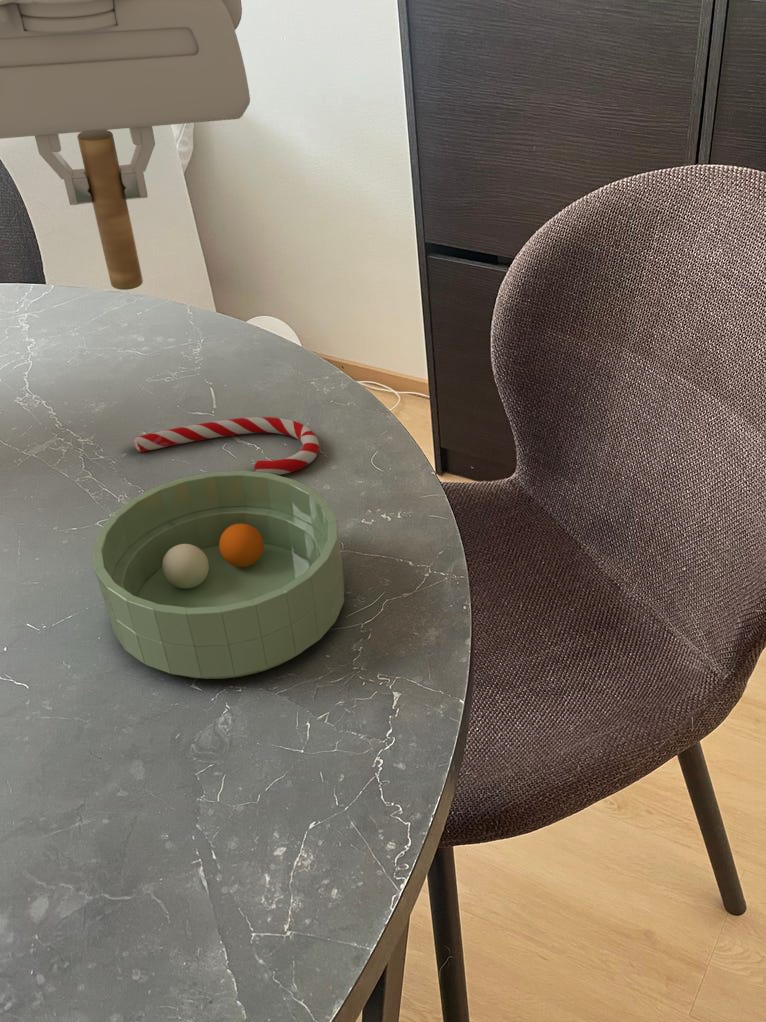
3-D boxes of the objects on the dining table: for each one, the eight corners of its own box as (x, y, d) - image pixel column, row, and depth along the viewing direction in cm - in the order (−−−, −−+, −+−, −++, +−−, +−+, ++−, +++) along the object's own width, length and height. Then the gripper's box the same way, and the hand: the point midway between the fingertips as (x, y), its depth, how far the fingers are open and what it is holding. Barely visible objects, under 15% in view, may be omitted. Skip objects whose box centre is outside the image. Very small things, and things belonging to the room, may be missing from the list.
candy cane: (140, 416, 86) (321, 412, 87) (143, 430, 87) (323, 426, 88) (120, 467, 81) (314, 463, 81) (124, 481, 81) (316, 477, 82)
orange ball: (227, 575, 70) (271, 566, 71) (218, 532, 69) (263, 523, 70) (220, 566, 73) (263, 557, 74) (212, 524, 72) (255, 516, 73)
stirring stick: (112, 292, 73) (78, 141, 66) (109, 278, 74) (75, 130, 67) (144, 288, 73) (114, 138, 67) (141, 274, 75) (110, 127, 68)
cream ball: (207, 593, 71) (161, 590, 71) (210, 550, 72) (164, 546, 71) (207, 586, 68) (159, 583, 68) (209, 541, 69) (162, 537, 68)
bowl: (127, 712, 63) (104, 637, 59) (105, 566, 73) (83, 495, 69) (371, 654, 67) (364, 580, 63) (316, 523, 77) (307, 454, 73)
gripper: (226, -61, 65) (254, 169, 75) (-130, -48, 60) (-52, 198, 69) (243, -43, 61) (271, 199, 70) (-139, -27, 56) (-54, 232, 65)
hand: (108, 199), depth 70 cm, fingers closed on stirring stick, 2 cm apart
